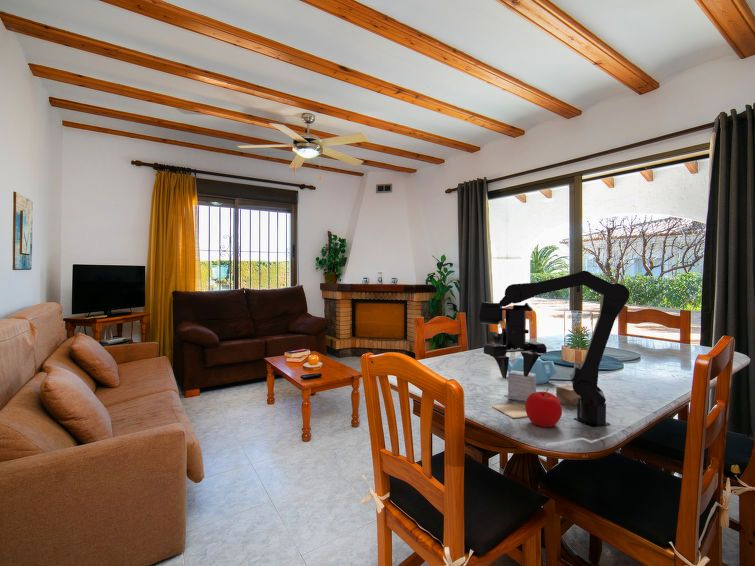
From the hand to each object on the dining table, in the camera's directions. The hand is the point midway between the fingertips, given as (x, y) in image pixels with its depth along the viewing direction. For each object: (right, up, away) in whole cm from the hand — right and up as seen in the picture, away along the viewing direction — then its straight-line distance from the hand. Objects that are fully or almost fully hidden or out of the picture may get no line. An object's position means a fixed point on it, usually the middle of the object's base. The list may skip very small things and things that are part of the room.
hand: (515, 377), depth 111 cm
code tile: (+6, -10, +9) cm, 15 cm away
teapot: (+17, -10, +32) cm, 38 cm away
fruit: (+4, -10, -11) cm, 15 cm away
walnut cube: (+19, -10, +6) cm, 23 cm away
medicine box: (+6, -10, +9) cm, 15 cm away
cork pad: (0, -10, -1) cm, 10 cm away
